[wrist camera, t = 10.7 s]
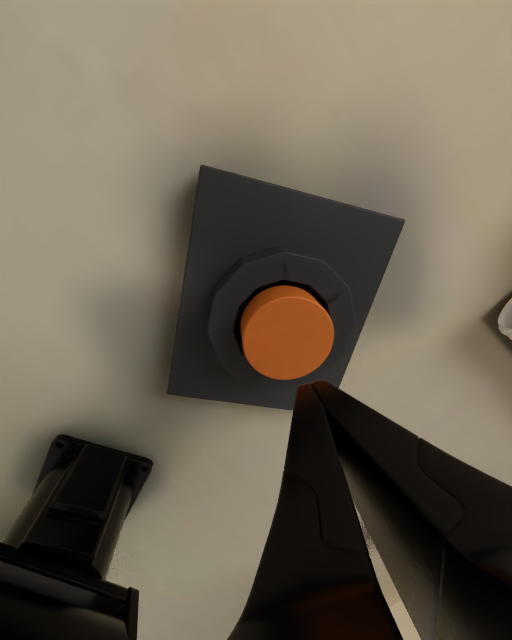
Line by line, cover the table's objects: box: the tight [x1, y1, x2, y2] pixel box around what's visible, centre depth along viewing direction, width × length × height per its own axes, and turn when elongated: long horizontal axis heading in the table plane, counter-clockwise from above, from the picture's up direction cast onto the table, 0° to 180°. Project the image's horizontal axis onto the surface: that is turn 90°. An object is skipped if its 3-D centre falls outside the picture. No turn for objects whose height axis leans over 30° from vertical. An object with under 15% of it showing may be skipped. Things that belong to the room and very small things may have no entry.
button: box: [240, 285, 334, 380], centre depth 13 cm, size 4×4×2 cm
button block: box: [167, 165, 405, 410], centre depth 15 cm, size 12×10×4 cm
